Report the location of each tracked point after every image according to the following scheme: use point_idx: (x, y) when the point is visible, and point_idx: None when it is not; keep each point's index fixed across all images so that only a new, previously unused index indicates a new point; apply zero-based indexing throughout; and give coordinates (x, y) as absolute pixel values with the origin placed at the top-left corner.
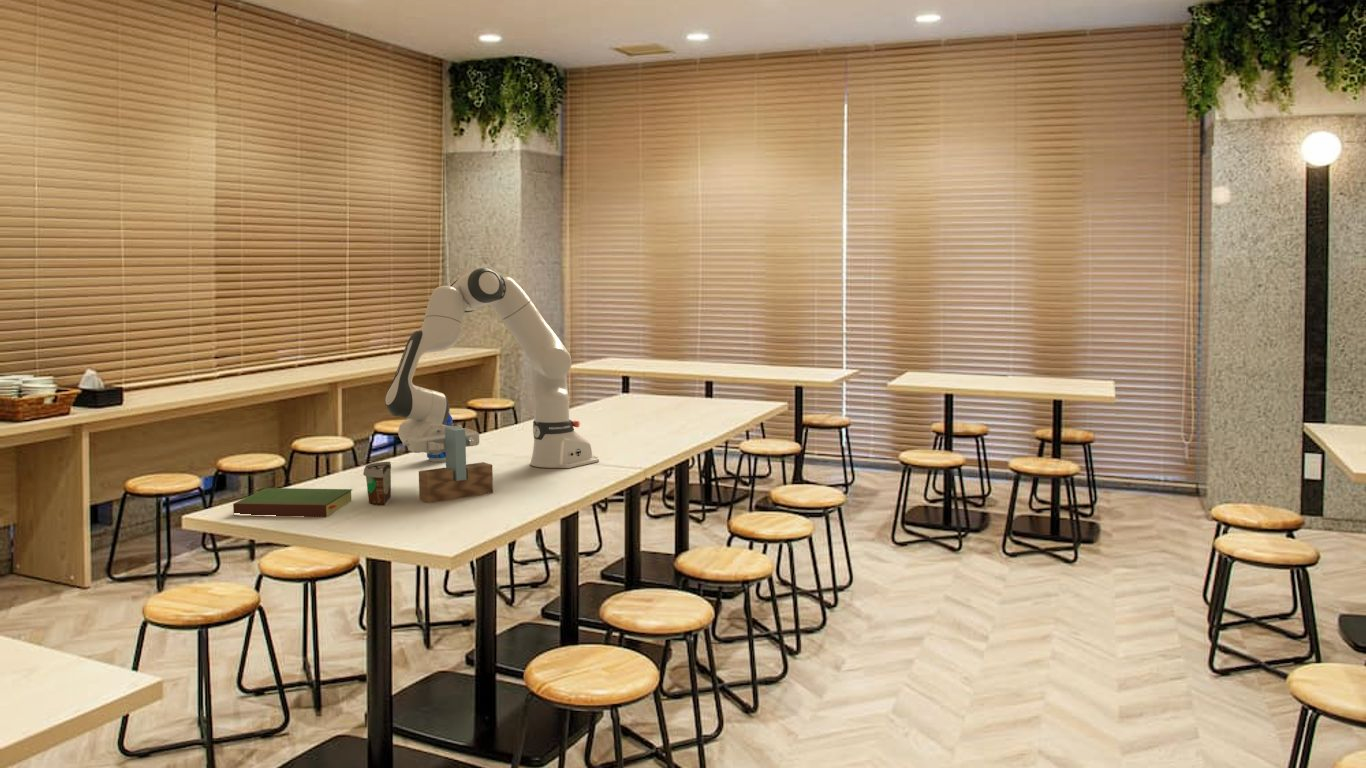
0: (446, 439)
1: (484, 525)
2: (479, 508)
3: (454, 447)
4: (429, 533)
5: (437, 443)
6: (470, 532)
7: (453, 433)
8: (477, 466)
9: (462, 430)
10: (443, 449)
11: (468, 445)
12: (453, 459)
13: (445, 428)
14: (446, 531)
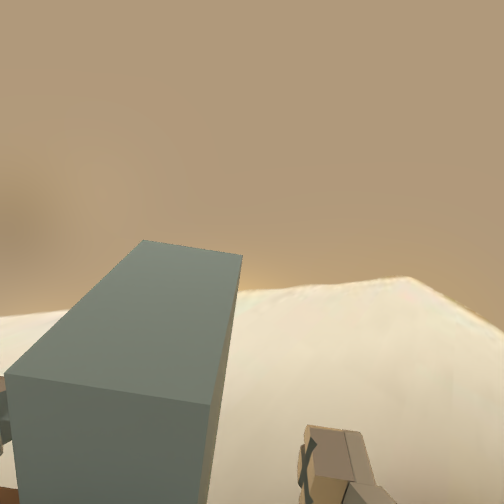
0: (200, 500)
1: (312, 317)
2: (236, 406)
3: (221, 398)
4: (426, 341)
5: (360, 466)
6: (353, 309)
7: (235, 300)
8: (18, 502)
9: (169, 250)
10: (298, 463)
11: (2, 442)
12: (206, 495)
13: (215, 389)
14: (392, 332)
